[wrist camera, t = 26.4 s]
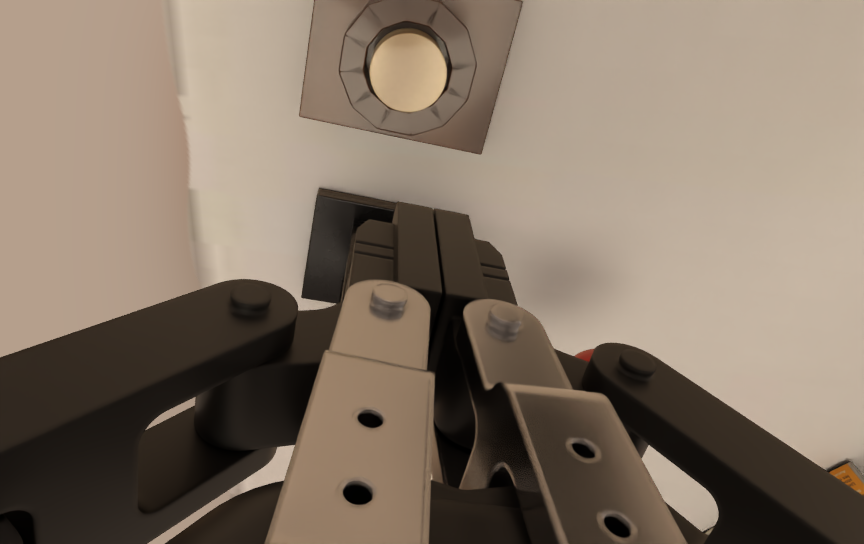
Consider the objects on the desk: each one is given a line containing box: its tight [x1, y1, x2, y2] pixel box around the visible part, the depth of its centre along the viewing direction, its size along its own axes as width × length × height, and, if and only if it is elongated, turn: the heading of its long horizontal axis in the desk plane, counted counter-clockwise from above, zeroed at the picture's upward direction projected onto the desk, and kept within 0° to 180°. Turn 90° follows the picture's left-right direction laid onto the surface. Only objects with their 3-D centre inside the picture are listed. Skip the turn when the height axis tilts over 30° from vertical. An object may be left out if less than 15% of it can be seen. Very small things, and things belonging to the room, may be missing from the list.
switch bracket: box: [301, 188, 397, 304], centre depth 32 cm, size 9×7×17 cm
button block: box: [299, 0, 523, 154], centre depth 32 cm, size 10×8×4 cm
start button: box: [370, 28, 447, 112], centre depth 30 cm, size 4×4×2 cm
